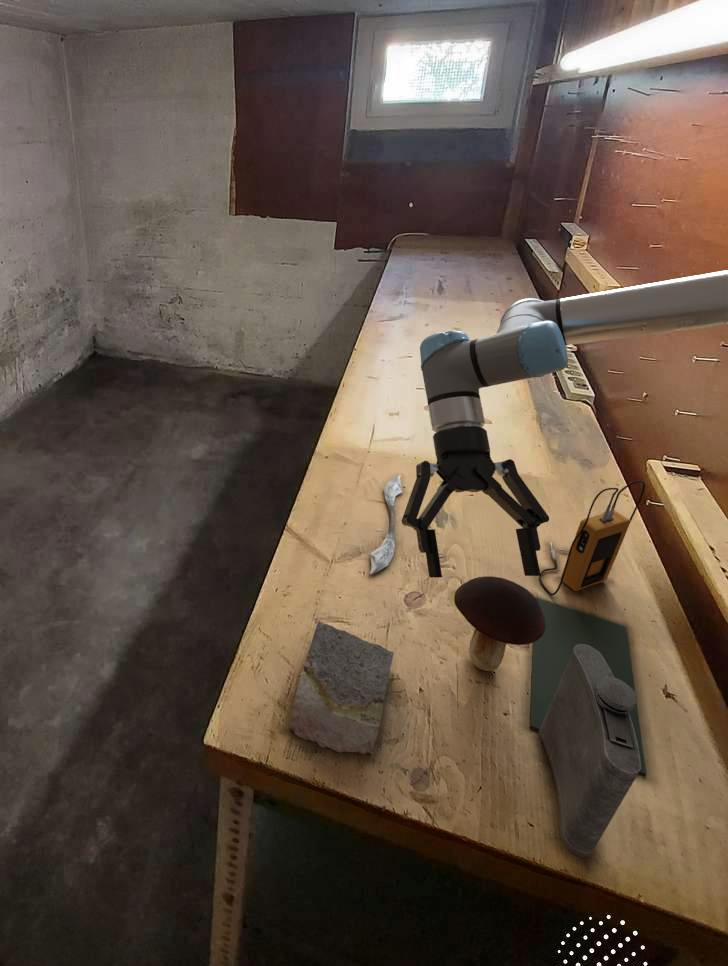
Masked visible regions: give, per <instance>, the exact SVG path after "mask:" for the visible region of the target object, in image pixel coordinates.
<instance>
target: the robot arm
mask: <svg viewBox="0 0 728 966" xmlns="http://www.w3.org/2000/svg"><path fill="white" fill-rule="evenodd" d="M726 326H728V269H725V270H720V271H714V272H709V273H703V274H697V275H691V276H685V277H680V278H674V279H668V280H663V281H657V282H651V283H644V284H639V285H634V286H633V285H632V286H627V287H622V288H616V289H610V290H605V291H599V292H593V293H587V294H581V295H575V296H570V297H565V298H564V297H563V298H558V299H557V298H556V299H550V300H542V299H539V298H536V297H535V298H534V297H529V298H528V297H527V298H523V299H519V300H517V301H516V302H514V303H513V304H511V305H510V306H509V307H508V309H507V310H506V311H505V312H504V313H503V316H501V319H500V322H499V327H498V328H497V331H496V333H494V334H490V335H487V336H484V337H480V338H476V339H470V337H469V336H468V334H467V333H466V332H464V331H461V330H448V331H440V332H436V333H433V334H431V335H429V336H427V337H426V338H424V339H423V340H422V341H421V343H420V346H419V354H420V355H419V356H420V370H421V372H422V378H423V379H422V380H423V383H424V389H425V395H426V401H427V407H428V408H427V410H428V414H429V420H430V428H431V430H432V431H433V432H434V433H433V435H432V441H433V447H434V454H435V457H436V463H431V462H430V461H428V460H423V461H422V462H420V463H418V464H416V465H415V466H416V467H415V472H416V478H415V481H414V484H413V487H412V490H411V492H410V495H409V497H408V501H407V503H406V507H405V510H404V512H403V515H402V517H401V524H402V525H403V526H405V527H410V528H412V529H413V530H414V531H415V532H416V539H417V544H418V550H419V552H420V554H425V558H426V564H427V571H428V577H429V578H443V573H442V567H441V561H440V554H439V548H438V542H437V535H436V529H434V528H433V529H432V528H431V529H429V527H430V525H431V524H432V523H433V521H434V520H435V518H436V517H437V515H438V514H439V512H440V511H441V509H442V507H443V506H444V505H445V503H446V502H447V501H448V499H449V498H450V496H451V494H452V493H453V492H455V493H463V492H469V493H479V492H482V493H483V494H485V495H487V496H489V498H491V499H492V501H494V502H495V503H496V504H497V505H498V506H499V507H500V508H501V509H502V510H503V511H504V512H505V513H506V514H507V515H508V516H510V518H512V520H513V521H515V522H516V524H518V525H519V526H520V528H515V533H516V538H517V543H518V548H519V553H520V559H521V563H522V568H523V574H524V577H539V576H541V577H542V575H541V574H540V573H541V570H540V564H539V560H538V555H537V552H539V551H540V552H541V543H540V537H539V534H538V527H541V525H542V524H544V523H548V522H549V521H550V516H549V515H548V513H547V512H546V511H545V509H544V508H543V506H542V505H541V504H540V502H539V501H538V499H537V498H536V497H535V495H534V494H533V492H532V491H531V490H530V488H529V487H528V485H527V484H526V482H525V481H524V480H523V479H522V477H521V476H520V474H519V472H518V469H517V467H516V466H517V465H516V462H515V461H514V460H513V459H512V458H509V459H506V460H502V461H498V462H497V461H496V462H494V461H493V459H492V457H491V446H490V441H489V436H488V431H487V430H486V429H485V428H484V426H485V425H486V420H485V416H484V410H483V405H482V401H481V395H480V389H482V388H489V387H492V386H497V385H502V384H507V383H513V382H517V381H522V380H527V379H533V378H542V377H544V376H547V375H549V374H553V373H558V372H560V371H563V370H565V369H566V368H567V366H568V365H569V357H568V349H567V346H572V345H581V344H589V343H598V342H604V341H612V340H620V339H621V340H622V339H627V338H628V339H629V338H638V337H644V336H645V337H646V336H652V335H660V334H669V333H676V332H677V333H678V332H683V331H695V330H701V329H709V328H710V329H711V328H717V327H726ZM495 472H496V474H497V475H498V476H500V477H501V478H502V480H503V482H504V483H505V485H506V486H507V488H508V489H509V490H510V492H511V494H512V495H513V496H514V498H515V499H514V498H513V496H511V494H510V493H508V492H507V491H506V490H505V489H504V488H503V487H502V484H501V483H500V482H499V481H497V479H496V478H495V477H494V474H495ZM435 473H436V474H437V475H438V476H439V478H440V479H441V480H442V482H441V483H440V484H439V486H438V487H437V489H436V491H435V493H434V495H433V496H432V497H431V499H430V501H429V502H428V504H427V505H426V506H425V508H423V511H422V512H421V514H420V515H419V513H420V510H421V508H422V504H423V501H424V498H425V496H426V492H427V489H428V487H429V484H430V481H431V478H432V477H434V475H435ZM418 516H419V517H418Z"/></svg>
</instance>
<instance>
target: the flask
mask: <svg viewBox="0 0 728 966" xmlns="http://www.w3.org/2000/svg"><path fill="white" fill-rule="evenodd" d="M636 702H637V703H638V697H637V694H636V691H635V692H634V691H633V690H632V688H631V687H630V686H629V685H627V684H626V683H625V682H623V681H622V680H619V679H617V678H615V677H614V676H613V674H612V672H611V670H610V668H609V666H608V665H607V663H606V661H605V660H604V658H603V656H602V655H601V654H600V653H599V652H598V651H597V650H596V649H594V648H593V647H591V646H588V645H585V644H579V645H576V646H575V647H574V649H573V652H572V654H571V657H570V659H569V661H568V664H567V666H566V669H565V671H564V673H563V676H562V678H561V681H560V683H559V685H558V688H557V690H556V693H555V695H554V697H553V700H552V702H551V705H550V707H549V709H548V712H547V714H546V717H545V719H544V721H543V724H542V726H541V729H540V731H539V737H540V740H541V742H542V744H543V746H544V749H545V752H546V755H547V757H548V761H549V764H550V767H551V771H552V775H553V779H554V782H555V788H556V792H557V798H558V805H559V806H558V807H559V814H560V837H561V840H562V842H563V844H564V845H565V847H566V848H567V850H569V851H570V852H571V853H572V854H574V855H576V856H577V857H580V858H588V857H590V856H591V855H592V854H593V852H594V850H595V848H596V846H597V845H598V843H599V841H600V840H601V838H602V837H603V835H604V833H605V831H606V829H607V828H608V826H609V825H610V823H611V821H612V819H613V818H614V816H615V814H616V813H617V811H618V809H619V808H620V806H621V804H622V802H623V801H624V799H625V798H626V795H627V794H628V792H629V790H630V789H631V787H632V785H633V783H634V782H635V780H636V779H637V776H638V775H639V774H640V773H639V772H640V769H641V761H640V754H639V748H638V743H637V738H636V734H635V730H634V727H633V723H632V720H631V717H630V714H629V711H630V710H631V709H633V707H634V705H635V704H636ZM628 710H629V711H628Z"/></svg>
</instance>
